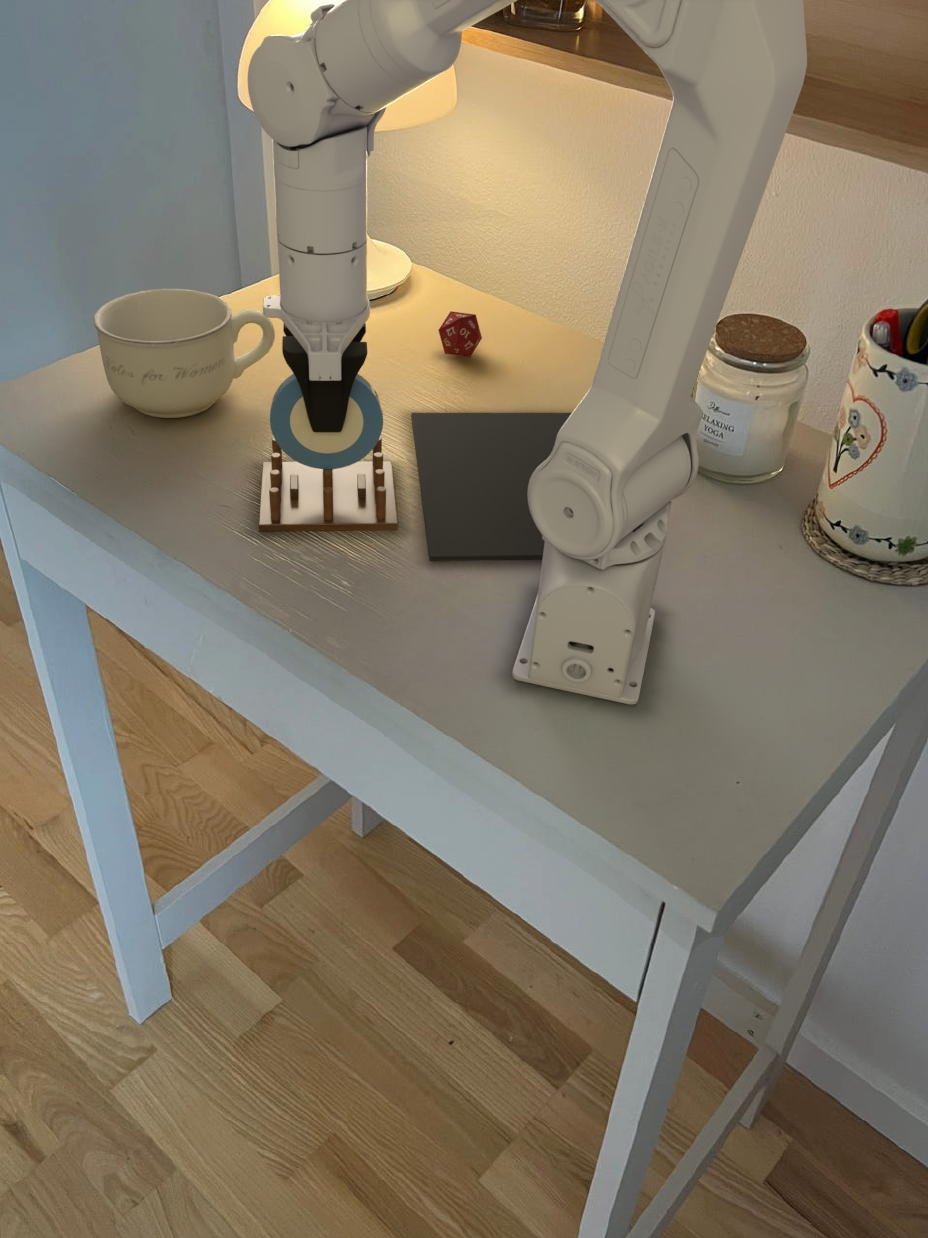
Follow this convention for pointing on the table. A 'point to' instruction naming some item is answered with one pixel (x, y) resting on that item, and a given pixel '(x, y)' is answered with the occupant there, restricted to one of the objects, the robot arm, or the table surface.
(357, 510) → the rack
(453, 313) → the dice
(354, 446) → the plate
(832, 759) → the table surface
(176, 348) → the teacup
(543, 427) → the placemat
